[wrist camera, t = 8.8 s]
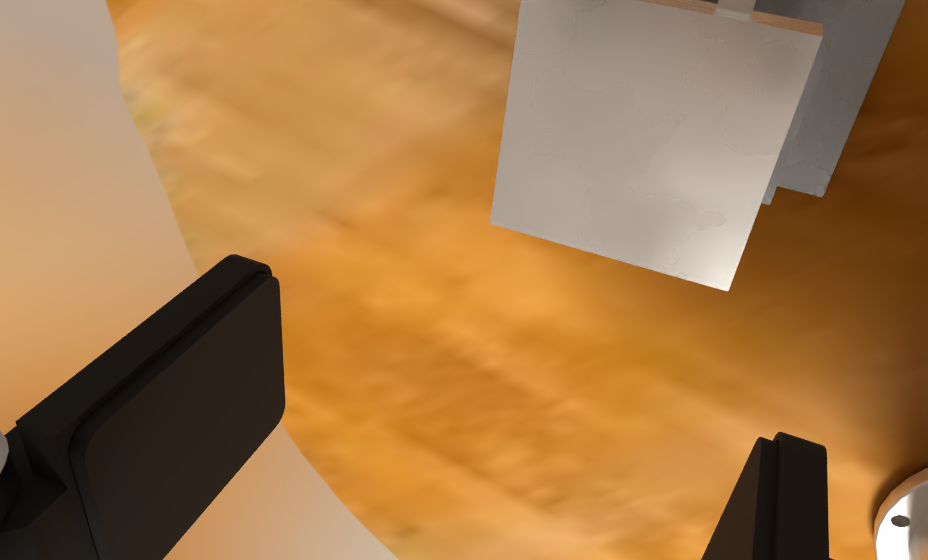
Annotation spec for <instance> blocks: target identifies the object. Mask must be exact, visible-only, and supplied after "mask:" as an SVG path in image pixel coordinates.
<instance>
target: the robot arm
mask: <svg viewBox="0 0 928 560" xmlns="http://www.w3.org/2000/svg"><path fill="white" fill-rule="evenodd" d="M284 409H285V386H284V366H283V346H282V326H281V305H280V286H279V281H278V279H277V278H275V277H273V276H272V271H271V269H270V267H269V266H268V265H266V264H264V263H261V262H257V261H254V260H251V259H248V258H245V257H242V256H239V255H236V254H234V255H229V256H227V257H226V258H224V259H223V260H222V261H220V262H219V263H218V264H217V265H215V266H214V267H213V268H211V269H210V270H209V271H208V272H206V273H205V274H204V275H202V276H201V277H200V278H199V279H197V280H196V281H195V282H194V283H192V284H191V285H190V286H188V287H187V288H186V289H185V290H183V291H182V292H181V293H179V294H178V295H177V296H176V297H174V298H173V299H172V300H171V301H169V302H168V303H167V304H165V305H164V306H163V307H162V308H161V309H159V310H158V311H156V312H155V313H154V314H153V315H151V316H150V317H149V318H148V319H146V320H145V321H144V322H142V323H141V324H140V325H139V326H137V327H136V328H135V329H133V330H132V331H131V332H130V333H128V334H127V335H126V336H124V337H123V338H122V339H121V340H119V341H118V342H117V343H116V344H114V345H113V346H112V347H110V348H109V349H108V350H107V351H105V352H104V353H103V354H102V355H100V356H99V357H98V358H97V359H95V360H94V361H93V362H91V363H90V364H89V365H87V366H86V367H85V368H84V369H82V370H81V371H80V372H78V373H77V374H76V375H75V376H73V377H72V378H71V379H69V380H68V381H67V382H66V383H64V384H63V385H62V386H61V387H59V388H58V389H57V390H56V391H54V392H53V393H52V394H50V395H49V396H48V397H46V398H45V399H44V400H43V401H41V402H40V403H39V404H37V405H36V406H35V407H34V408H33V409H31V410H30V411H29V412H27V413H26V414H25V415H23V416H22V417H21V418H20V419H18V420H17V421H16V425H17V426H16V427H14V428H13V429H12V430H11V431H9V432H8V433H7V434H6V435H3V434H2V433H1V432H0V560H163V558H164V557H165V556H166V555H167V554H168V553H169V552H170V550H171V549H172V548H173V547H174V546H175V545H176V543H177V542H178V541H179V540H180V539H181V537H182V536H183V535H184V534H185V533H186V532H187V530H188V529H189V528H190V527H191V526H192V525H193V523H194V522H195V521H196V520H197V519H198V518H199V516H200V515H201V514H202V513H203V512H204V511H205V509H206V508H207V507H208V506H209V505H210V504H211V502H212V501H213V500H214V499H215V498H216V497H217V495H218V494H219V493H220V492H221V491H222V489H223V488H224V487H225V486H226V485H227V484H228V482H229V481H230V480H231V479H232V478H233V477H234V475H235V474H236V473H237V472H238V471H239V470H240V468H241V467H242V466H243V465H244V464H245V463H246V461H247V460H248V459H249V458H250V457H251V456H252V454H253V453H254V452H255V451H256V450H257V449H258V447H259V446H260V445H261V444H262V443H263V441H264V440H265V439H266V438H267V437H268V436H269V434H270V433H271V432H272V431H273V430H274V429H275V427H276V426H277V424H278V423H279V422H280V420H281V418H282V415H283V413H284ZM873 538H874V546H875V555H876V559H877V560H928V468H926V469H924V470H922V471H920V472H918V473H916V474H915V475H913V476H911V477H909V478H907V479H906V480H905V481H903V482H902V483H901V484H900V485H899V486H897V487H896V488H895V489H894V490H893V491H891V493H890V494H889V495H888V497H887V498H886V499H885V501H884V502H883V503H882V505H881V506H880V508H879V511H878V514H877V516H876V519H875V521H874V537H873ZM701 560H834V559H831V558H829V533H828V486H827V452H826V448H825V446H823V445H820V444H817V443H814V442H811V441H808V440H804V439H801V438H798V437H795V436H792V435H789V434H786V433H783V432H778V433H777V434H776V436H775V438H774V439H773V441H771V440H768V439H765V438H762V437H759V438H758V439H757V441H756V443H755V445H754V447H753V449H752V451H751V453H750V455H749V458H748V460H747V462H746V464H745V466H744V468H743V471H742V473H741V475H740V477H739V479H738V481H737V484H736V486H735V488H734V490H733V492H732V494H731V497H730V499H729V501H728V503H727V505H726V507H725V509H724V512H723V514H722V516H721V518H720V520H719V522H718V525H717V527H716V529H715V531H714V533H713V535H712V538H711V540H710V542H709V544H708V546H707V548H706V551H705V553H704V555H703V557H702V559H701Z"/></svg>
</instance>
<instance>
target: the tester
mask: <svg viewBox="0 0 928 560" xmlns="http://www.w3.org/2000/svg"><path fill="white" fill-rule="evenodd" d="M701 1H706V2H711V3H717V4H718V0H701ZM905 1H906V0H756V2H755V5H754V8H753V11H758V12H763V13H768V14H774V15H779V16H784V17H789V18H794V19H800V20H805V21H810V22H815V23H820V24H822V27H823V38H822V40H821V43H820V46H819V48H818V51H817V54H816V57H815V59H814V62H813V65H812V67H811V70H810V73H809V75H808V78H807V81H806V84H805V86H804V89H803V92H802V94H801V97H800V100H799V102H798V105H797V108H796V110H795V113H794V116H793V119H792V121H791V124H790V127H789V129H788V132H787V135H786V137H785V140H784V143H783V145H782V148H781V151H780V154H779V156H778V159H777V162H776V164H775V167H774V170H773V172H772V175H771V178H770V180H769V183H768V186H767V189H766V191H765V194H764V197H763V199H762V202H761V203H763V204H767V205H770V204H771V201H772V198H773V196H774V193H775V190H776V188H777V186H779V187H783V188H787V189H791V190H795V191H799V192H803V193H807V194H811V195H815V196H819V197H823V195H824V193H825V190H826V188H827V186H828V183H829V181H830V179H831V176H832V174H833V171H834V169H835V167H836V164H837V162H838V160H839V157H840V155H841V152H842V150H843V148H844V145H845V143H846V141H847V138H848V136H849V134H850V131H851V129H852V126H853V124H854V122H855V119H856V117H857V115H858V112H859V110H860V107H861V105H862V103H863V100H864V98H865V96H866V93H867V91H868V89H869V86H870V84H871V81H872V79H873V77H874V74H875V72H876V70H877V67H878V65H879V63H880V60H881V58H882V55H883V53H884V51H885V48H886V46H887V44H888V41H889V39H890V36H891V34H892V32H893V29H894V27H895V25H896V22H897V20H898V18H899V15H900V13H901V10H902V8H903V6H904V3H905Z"/></svg>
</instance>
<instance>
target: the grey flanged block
mask: <svg viewBox="0 0 928 560" xmlns="http://www.w3.org/2000/svg"><path fill="white" fill-rule="evenodd" d="M755 2H756V0H718V4H717V3H711V2H706V1H701V0H521V3H520V10H519V17H518V24H517V32H516V39H515V46H514V53H513V60H512V68H511V75H510V82H509V89H508V96H507V104H506V111H505V118H504V125H503V132H502V140H501V147H500V154H499V161H498V168H497V176H496V183H495V190H494V197H493V205H492V212H491V219H490V224H493V225H496V226H500V227H503V228H507V229H510V230H514V231H517V232H521V233H524V234H528V235H531V236H535V237H538V238H542V239H545V240H549V241H552V242H556V243H559V244H563V245H566V246H570V247H573V248H577V249H580V250H584V251H587V252H591V253H594V254H598V255H601V256H605V257H608V258H612V259H615V260H619V261H622V262H626V263H629V264H633V265H636V266H640V267H643V268H647V269H650V270H654V271H657V272H661V273H664V274H668V275H671V276H675V277H678V278H682V279H685V280H689V281H692V282H696V283H699V284H703V285H706V286H710V287H713V288H717V289H720V290H724V291H727V292H728V291H729V288H730V286H731V283H732V280H733V277H734V275H735V272H736V269H737V267H738V264H739V261H740V259H741V256H742V253H743V251H744V248H745V245H746V242H747V240H748V237H749V234H750V232H751V229H752V226H753V224H754V221H755V218H756V215H757V213H758V210H759V207H760V205H761V202H762V199H763V197H764V194H765V191H766V189H767V186H768V183H769V180H770V178H771V175H772V172H773V170H774V167H775V164H776V162H777V159H778V156H779V154H780V151H781V148H782V145H783V143H784V140H785V137H786V135H787V132H788V129H789V127H790V124H791V121H792V119H793V116H794V113H795V110H796V108H797V105H798V102H799V100H800V97H801V94H802V92H803V89H804V86H805V84H806V81H807V78H808V75H809V73H810V70H811V67H812V65H813V62H814V59H815V57H816V54H817V51H818V48H819V46H820V43H821V40H822V38H823V27H822V24H820V23H815V22H810V21H805V20H800V19H794V18H789V17H784V16H779V15H774V14H768V13H763V12H758V11H753V8H754V5H755Z"/></svg>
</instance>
